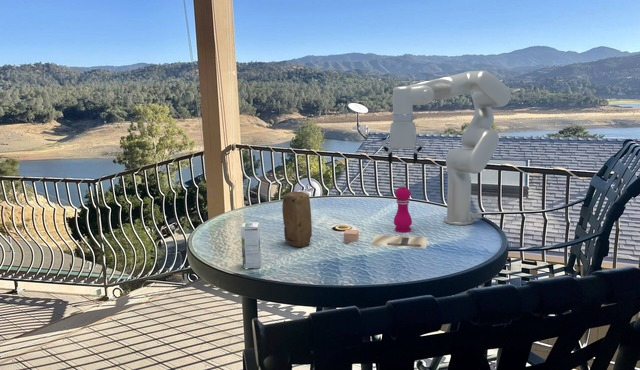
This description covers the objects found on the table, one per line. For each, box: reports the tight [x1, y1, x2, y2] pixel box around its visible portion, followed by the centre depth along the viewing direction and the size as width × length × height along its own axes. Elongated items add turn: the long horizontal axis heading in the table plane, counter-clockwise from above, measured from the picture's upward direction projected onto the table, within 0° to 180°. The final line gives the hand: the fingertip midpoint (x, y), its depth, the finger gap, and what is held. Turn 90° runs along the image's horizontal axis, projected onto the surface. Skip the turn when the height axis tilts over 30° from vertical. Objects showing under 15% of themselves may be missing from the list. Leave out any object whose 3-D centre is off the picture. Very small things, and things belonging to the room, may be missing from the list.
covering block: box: [343, 229, 360, 244], centre depth 180 cm, size 5×5×4 cm
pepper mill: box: [393, 183, 413, 233], centre depth 188 cm, size 7×7×20 cm
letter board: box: [370, 234, 428, 249], centre depth 176 cm, size 20×13×1 cm, turn 75°
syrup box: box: [240, 221, 262, 269], centre depth 157 cm, size 6×6×14 cm
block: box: [281, 190, 313, 248], centre depth 178 cm, size 11×8×20 cm
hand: (402, 163), depth 184 cm, fingers open, 8 cm apart
